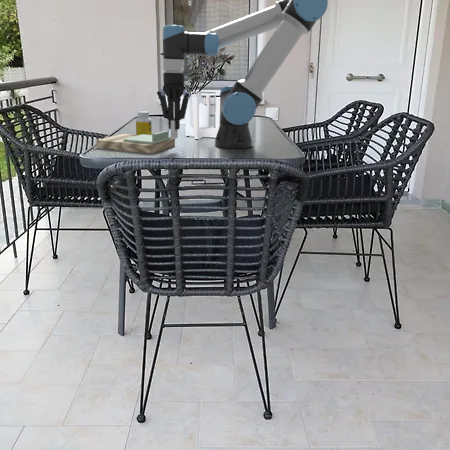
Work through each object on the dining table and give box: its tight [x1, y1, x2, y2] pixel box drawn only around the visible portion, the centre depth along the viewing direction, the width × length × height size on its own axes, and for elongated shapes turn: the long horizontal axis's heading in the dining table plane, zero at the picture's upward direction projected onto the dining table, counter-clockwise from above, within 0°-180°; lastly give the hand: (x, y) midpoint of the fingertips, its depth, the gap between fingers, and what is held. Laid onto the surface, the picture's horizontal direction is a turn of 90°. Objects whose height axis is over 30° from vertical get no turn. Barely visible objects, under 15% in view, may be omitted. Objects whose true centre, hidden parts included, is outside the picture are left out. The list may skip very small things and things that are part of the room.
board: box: [95, 133, 176, 155], centre depth 185 cm, size 24×18×3 cm
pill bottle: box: [135, 110, 153, 135], centre depth 199 cm, size 6×6×12 cm
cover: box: [124, 130, 171, 144], centre depth 182 cm, size 13×14×3 cm
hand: (174, 138), depth 178 cm, fingers closed
